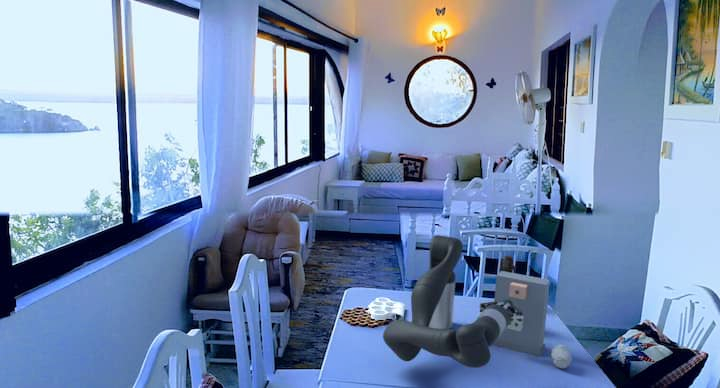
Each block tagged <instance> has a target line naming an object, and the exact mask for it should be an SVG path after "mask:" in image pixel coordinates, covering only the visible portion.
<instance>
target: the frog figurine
mask: <svg viewBox="0 0 720 388" xmlns="http://www.w3.org/2000/svg"><path fill="white" fill-rule="evenodd" d="M550 355H551V359H552V361H553V364H554V365H555V367H557V368H559V369H566V368H568V367H569V366H570V364H571V361H573V358H572V353H571V351H570V350H569V348H568V345H566V344H561V343H558V344H555V345H554V347H553V348H552V349H551V354H550Z"/></svg>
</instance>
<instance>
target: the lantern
mask: <svg viewBox="0 0 720 388" xmlns="http://www.w3.org/2000/svg"><path fill="white" fill-rule="evenodd" d="M509 235H511V237H512V238H513V240H514V242H515V245H516V246H518V245H517V241H516V239H515V238H514V236H513V234H510V233H508V234H507V235H506V236H504V237H503V239H502V241H501V243H503V242H504V239H505V238H506V237H508V236H509ZM502 246H503V244H501V247H500V250H502ZM503 257H504V259H503V260H502V259H501V261H500V266H499V272H498V273H500V272H501V271H505V272H510V273H516V266H517V263H515V265H514V260H513V258H514V256H511V255H504V256H503ZM515 258H516V260H515V262H517V260H518V257H515Z"/></svg>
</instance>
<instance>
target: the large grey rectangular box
mask: <svg viewBox="0 0 720 388" xmlns="http://www.w3.org/2000/svg"><path fill="white" fill-rule="evenodd" d="M499 272H500V271H499ZM499 272H498V273H497V274H496V276H495V277H496V278H495V289H494V290H495V291H494V299H493V302H494V301H496V302H498V303H500V302H503V301H504V300H506V299H508V300H511V302H513V305H514V306H516V307H517V308H518V309H519V310H520V311H521V312H523V316H524V318H523V328H522V330H521V331H516V330H512V329H508V328H506V329H505V331H504V332H503V333H502V334H501V335H500V336H499V337H498V338H497V339H496V340H495V342H494V343H493V344H492V345H493V346H495V347H496V346H497V347H501V348H505V349H508V350H513V351H516V352H520V353H524V354H529V355H532V356H535V357H539V358H540V357H541V356H542V355H543V352H544V350H545V349H546V343H544V342H545V341H544V340H545V330H546V321H547V313H548V312H547V311H548V302H549V294H550V293H549V292H550V290H549V289H550V282H551V281H550V279H547V278H542V277H535V276H532V275H531V276H530V275H525V274H520V273H516V272H515V273H513V272H512V273H510V272H505V271H503V270H501V272H500V273H499ZM512 282H515V283H520V284H525V285H528V289H527V297H526V299H525V300H524V299H519V298H514V297H509V290H510V284H511V283H512ZM492 345H491V346H492Z"/></svg>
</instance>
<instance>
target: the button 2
mask: <svg viewBox="0 0 720 388" xmlns="http://www.w3.org/2000/svg"><path fill="white" fill-rule="evenodd" d="M523 318H524V316H522V321H518V320H517V319H514V320H513V321H511V322H510V323H509V325H508V326H507V327H506V328H508V329H512V330H516V331H521V330H522V328H523Z"/></svg>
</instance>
